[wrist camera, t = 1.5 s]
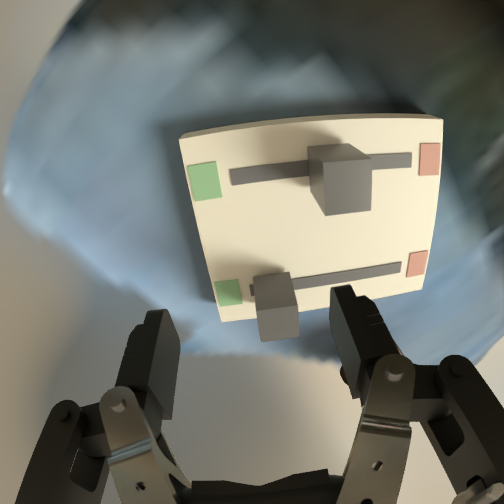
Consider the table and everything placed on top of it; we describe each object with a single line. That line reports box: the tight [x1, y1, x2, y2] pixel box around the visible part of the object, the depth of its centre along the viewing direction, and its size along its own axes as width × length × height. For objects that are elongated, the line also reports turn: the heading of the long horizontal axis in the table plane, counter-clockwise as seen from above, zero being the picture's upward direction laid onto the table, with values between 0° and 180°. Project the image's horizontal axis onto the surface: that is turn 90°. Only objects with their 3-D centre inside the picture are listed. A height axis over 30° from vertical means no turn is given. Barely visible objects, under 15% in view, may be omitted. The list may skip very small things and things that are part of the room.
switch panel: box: [179, 113, 443, 322], centre depth 30 cm, size 24×20×3 cm
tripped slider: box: [307, 143, 372, 216], centre depth 23 cm, size 4×4×5 cm
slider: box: [253, 272, 299, 342], centre depth 30 cm, size 4×4×5 cm
